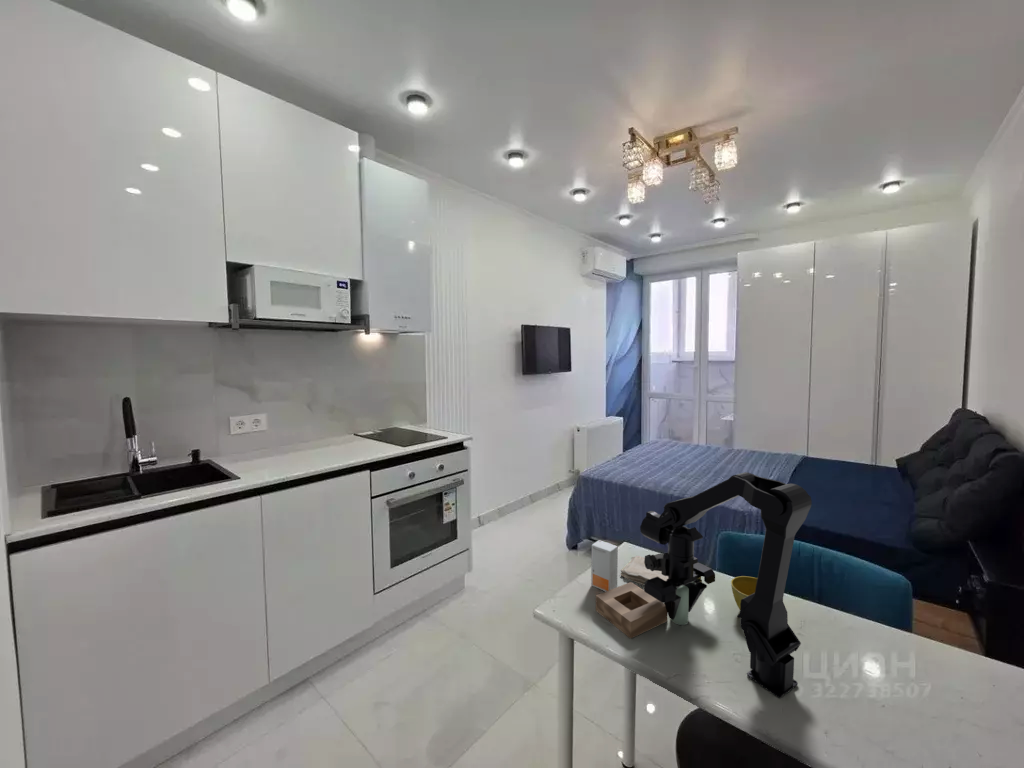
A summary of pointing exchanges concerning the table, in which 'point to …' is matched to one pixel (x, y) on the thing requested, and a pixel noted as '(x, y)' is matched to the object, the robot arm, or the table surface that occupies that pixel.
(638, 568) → the washcloth
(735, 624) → the table surface
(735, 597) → the yellow bowl
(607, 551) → the skincare box
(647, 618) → the walnut socket
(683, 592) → the sage peg
